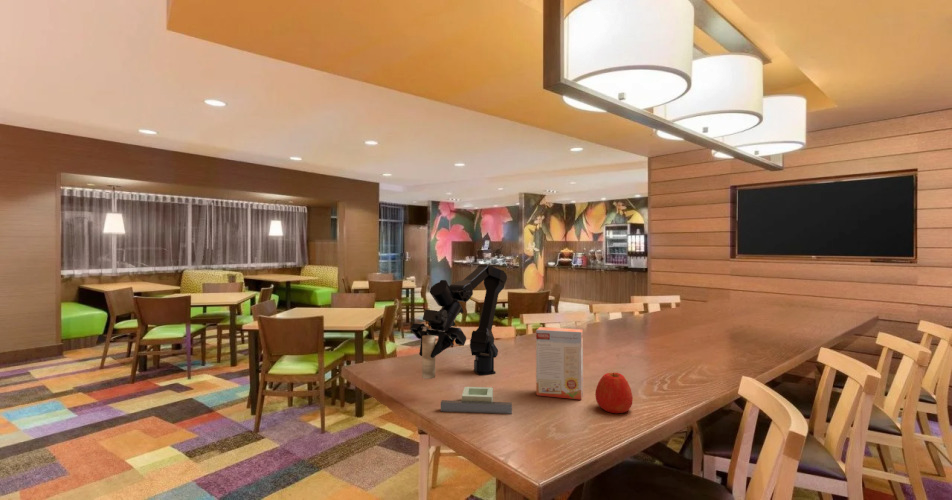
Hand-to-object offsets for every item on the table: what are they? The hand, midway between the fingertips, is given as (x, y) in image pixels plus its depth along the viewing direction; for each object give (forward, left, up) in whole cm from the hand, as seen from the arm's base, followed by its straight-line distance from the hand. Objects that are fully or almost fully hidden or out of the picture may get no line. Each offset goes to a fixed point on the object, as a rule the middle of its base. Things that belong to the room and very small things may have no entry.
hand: (425, 356), depth 133 cm
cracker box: (-40, +12, -13) cm, 44 cm away
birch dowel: (-1, -1, -7) cm, 7 cm away
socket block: (-13, +10, -13) cm, 21 cm away
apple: (-48, +28, -13) cm, 57 cm away
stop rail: (-11, +15, -13) cm, 22 cm away
